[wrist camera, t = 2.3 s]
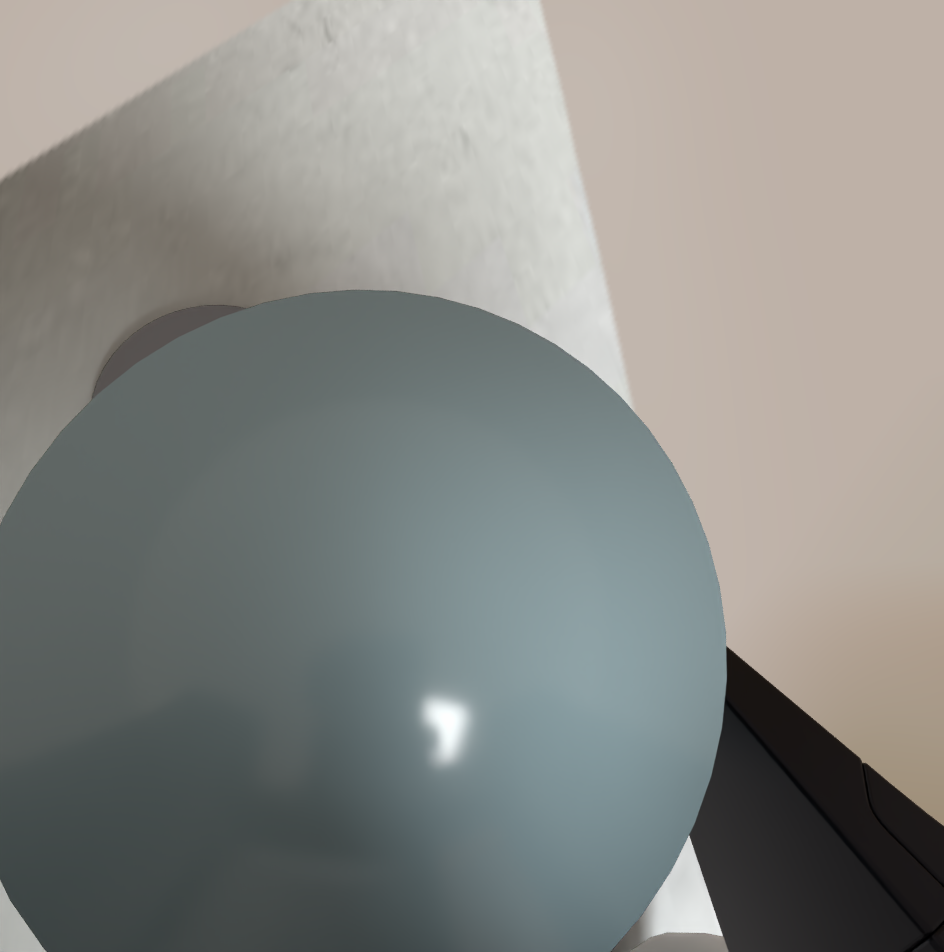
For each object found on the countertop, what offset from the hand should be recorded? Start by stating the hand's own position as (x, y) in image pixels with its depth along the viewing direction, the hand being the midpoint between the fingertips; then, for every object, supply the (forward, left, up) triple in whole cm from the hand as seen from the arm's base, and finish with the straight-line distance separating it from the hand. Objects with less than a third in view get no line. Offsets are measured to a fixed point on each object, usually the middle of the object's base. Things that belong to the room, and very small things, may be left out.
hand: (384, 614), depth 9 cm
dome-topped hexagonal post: (0, 0, -8) cm, 8 cm away
